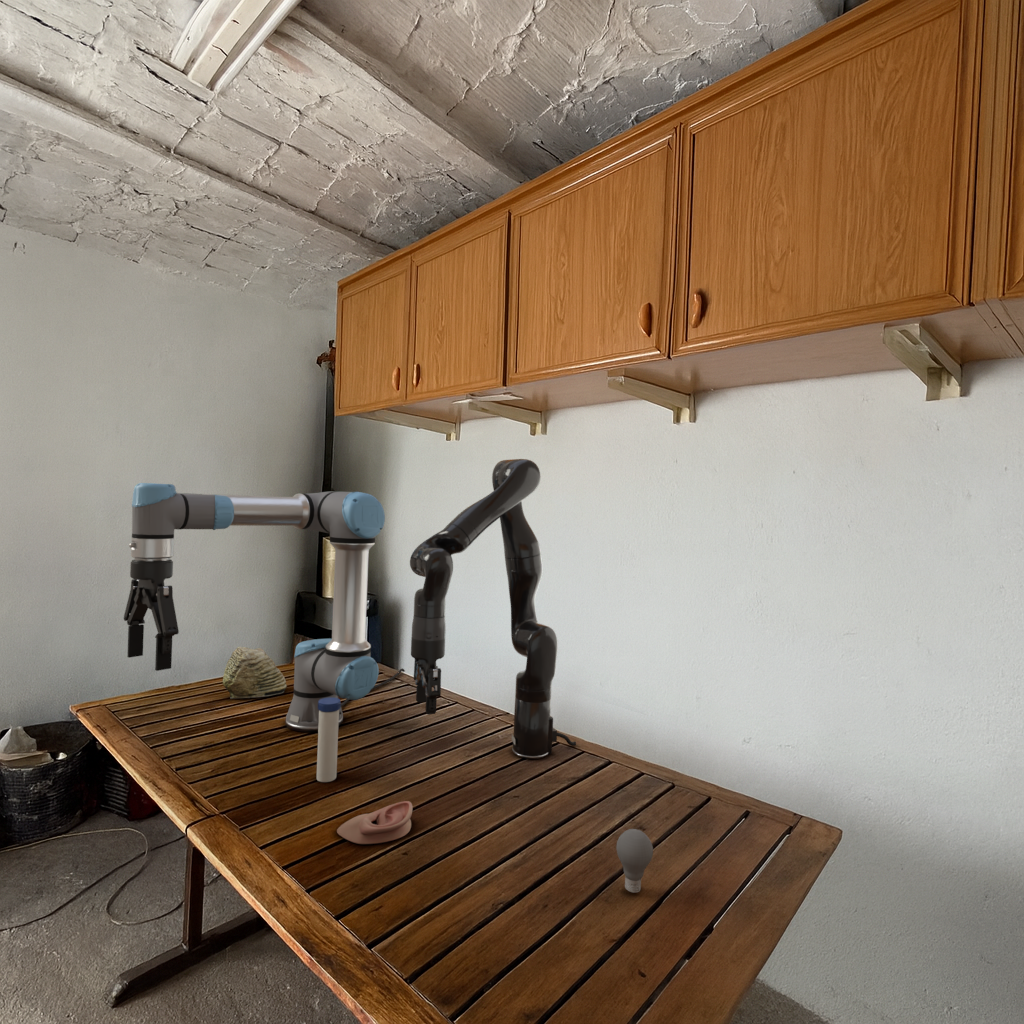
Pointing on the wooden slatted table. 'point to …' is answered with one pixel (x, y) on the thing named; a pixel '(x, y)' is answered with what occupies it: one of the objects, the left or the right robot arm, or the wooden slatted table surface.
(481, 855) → the wooden slatted table surface
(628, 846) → the light bulb
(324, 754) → the white cylindrical bottle
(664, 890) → the wooden slatted table surface
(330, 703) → the lid
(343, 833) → the anatomical model
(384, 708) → the wooden slatted table surface
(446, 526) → the right robot arm
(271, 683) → the fossil
